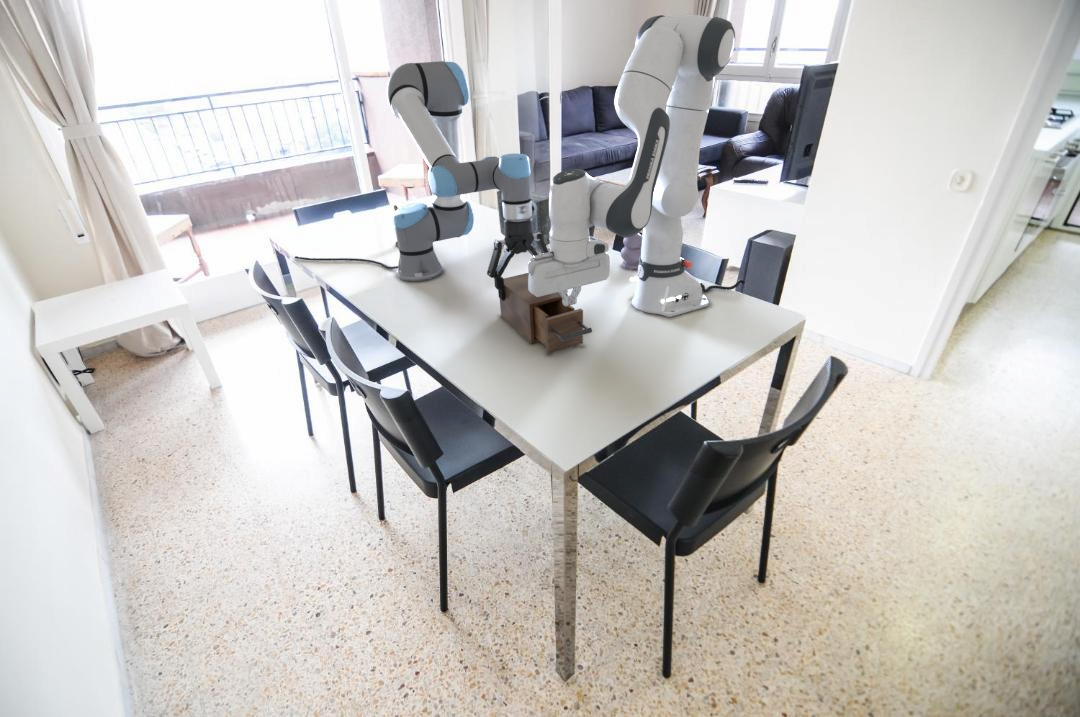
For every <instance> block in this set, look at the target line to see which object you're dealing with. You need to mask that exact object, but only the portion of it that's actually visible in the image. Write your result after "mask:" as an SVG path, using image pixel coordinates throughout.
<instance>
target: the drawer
mask: <svg viewBox="0 0 1080 717" xmlns="http://www.w3.org/2000/svg"><path fill="white" fill-rule="evenodd" d="M533 324H534V336H535V337H536V338H537V339H538V340H539V343H541V344H542V345H544V346H545V351H546V353H547V354H548V355H550V354H552V353H557V352H559V351H563V350H566V349H569V348H572V347H576V346H578V345H582V344H583V341H584V336H585V335H588V334H590V333H591V334H592V333H593V328H592V327H588V326H586V325H585V324H584V310H583V309H582V308H577V309H575V307H573V305H569V306H564V305H563V303H562V299H561V300H557V301H554V302H550V303H546V304H542V305H539V306H535V307H533Z"/></svg>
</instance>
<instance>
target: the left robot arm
mask: <svg viewBox="0 0 1080 717" xmlns="http://www.w3.org/2000/svg"><path fill="white" fill-rule="evenodd" d="M469 89H470V88H469V85H468V81H467V78H466V75H465V72H464V71H463V69H462V67H461V66H460V65H459V64H458V63H457V62H456V61H455V62H454V61H445V60H441V61H440V60H439V61H426V62H425V61H423V62H406V63H403V64H401V65H400V66H398V67H397V68H395V69H394V70H393V72H392V73H391V74H390V76H389V78H388V81H387V85H386V100H387V103H388V106H389V108H390V110H391V112H392V114H393V115H394V116H395V117H396V118H397V119H399V120H401V121H402V124H403V126H405V128H406V130H407V132H408V134H409V135H410V137H411V139H412V141H413V142H414V143H415V145H416V147H417V149H418V151H419V152H420V154H421V156H422V157H423V159H424V161H425V163H426V164H427V166H428V168H429V169H428V171H427V179H428V186H429V188H430V192H431V193H432V194H433V195H434V196H433V197H432V198H431V206H428V205H427V204H426V203H424V202H423V203H422V202H417V203H410V204H406V205H403V206H401V207H398V209H397V210H396V211H395V210H394V213H393V215H392V219H393V228H394V230H395V231H394V232H395V236H396V242H398V246H397V247H398V251H399V259H398V265H395V266H391V265H386V264H385V263H382V262H381V261H376V260H373V259H366V258H356V257H355V258H354V257H353V258H351V257H350V258H349V257H337V258H336V257H335V258H334V257H333V258H332V257H331V258H329V257H326V258H324V257H320V258H319V257H316V258H315V257H304V256H298V255H295V256H294V259H298V260H305V261H318V262H319V261H323V262H324V261H330V262H331V261H334V262H335V261H354V262H355V261H356V262H366V263H373V264H377V265H380V266H382V267H384V268H385V269H389V270H393V269H394V270H396V269H397V276H398V278H399V279H400V280H402V281H406V282H413V283H414V282H425V281H429V280H432V279H435V278H438V277H439V276H440V275H441V274H442V273H443V268H442V264H441V263H440V260H439V259H438V256H437V254H436V252H435V250H434V243H435V242H440V241H446V240H450V239H455V238H460V237H463V236H466V235H469V234H470V232H471V231H472V230H473V227H474V220H475V218H474V217H475V216H474V212H473V207H472V205H471V203H470V202H469V201H468V200H467V198H466V197H465V196H464V195H466V194H472V193H479V192H485V191H490V190H497V191H499V190H501V192H502V204H503V217H504V218H505V219H504V232H505V236H504V239H501V240H498V239H494V241H493V250H492V254H491V257H490V260H489V265H488V267H487V271H486V275H487V276H488V277H489V278H491V279H493V282H494V287H495V289H496V290H497V292H498V293H497V294H498V298H499V300H500V299H501V300H502V301H504V300H505V291H504V278H505V277H503V276H502V275H503V274H504V272H505V271H506V269H507V267H508V265H509V263H510V262H511V259H512V258H513V257H514V256H515V255H519V254H521V253H527V252H528V253H529V254H530V255H531V256H532V258H534V256H535V255H540V254H539V252H538V251H537V250H536V248H533V247H532V245H531V244H532V242H533V240H534V239H535V240H536V241H537V244H538V246H539V248H538V249H539V251H540V252H541V254H544V253H548V252H550V250H549V249H548V246H547V245H545V242H544V236H543V234H542V233H540V232H538V231H537V232H536V233H535V234H533V233H532V231H533V227H532V218H531V216H532V206H531V191H532V181H531V174H532V171H531V165H530V158H529V156H528V155H526V153H525V154H524V153H518V152H517V153H505V154H503V155H501V156H500V157H497V156H494V155H493V156H485V157H483V158H482V159H480V160H474V161H467V162H466V161H465V162H461V158H460V156H461V155H460V140H459V120H458V119H459V118H460V117H461V116H462V115H463V107H464V106H466V105H467V104H468V103H469V99H470V90H469ZM504 247H505V249H504ZM503 249H504V251H503ZM502 252H504V253H503V254H502ZM501 255H502V256H501Z"/></svg>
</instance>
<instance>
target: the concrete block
mask: <svg viewBox="0 0 1080 717" xmlns="http://www.w3.org/2000/svg"><path fill="white" fill-rule="evenodd" d="M496 197H497V208H498V220H499V221H498V222H499V228H500V233H501V235H503V236H504V237H505V232H504V219H505V218H504V217H503V204H502V192H501V190H497V191H496ZM531 206H532V216H531V218H532V227H533V231H532V233H533V234H535V233H536V232H537V231H538V232H540V233H542V234H543V236H544V242H545V245H546V246H549V245H550V238H549V234H550V229H551V221H550V218H549V196H548V195H544V194H542V193H539V192H536V191H533V190H531ZM531 245H532V247H533V248H534V249H540V248H539V246H538V244H537V241H536V240H535V239H534V240H533V242H532V244H531Z"/></svg>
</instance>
